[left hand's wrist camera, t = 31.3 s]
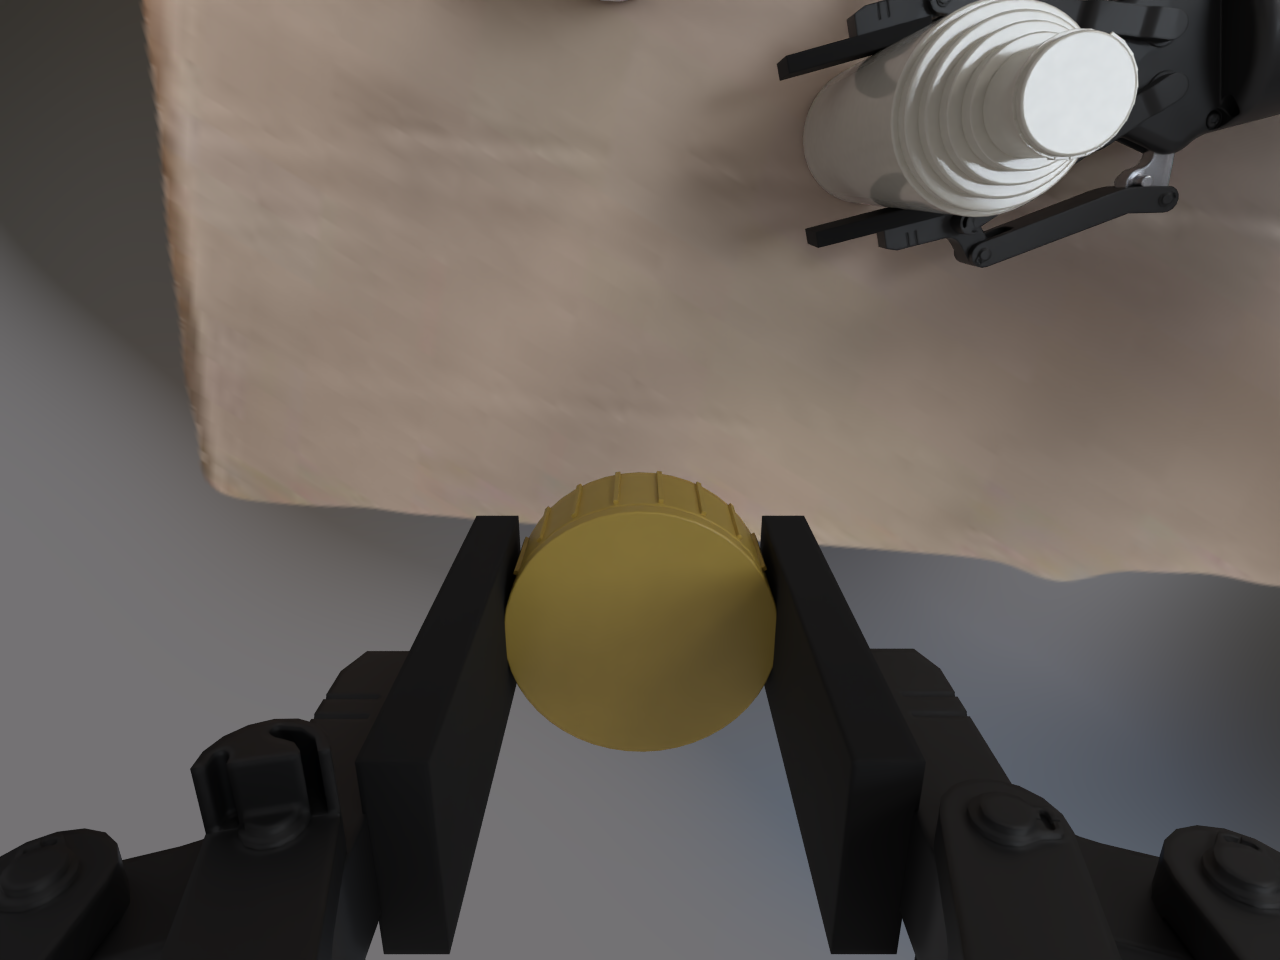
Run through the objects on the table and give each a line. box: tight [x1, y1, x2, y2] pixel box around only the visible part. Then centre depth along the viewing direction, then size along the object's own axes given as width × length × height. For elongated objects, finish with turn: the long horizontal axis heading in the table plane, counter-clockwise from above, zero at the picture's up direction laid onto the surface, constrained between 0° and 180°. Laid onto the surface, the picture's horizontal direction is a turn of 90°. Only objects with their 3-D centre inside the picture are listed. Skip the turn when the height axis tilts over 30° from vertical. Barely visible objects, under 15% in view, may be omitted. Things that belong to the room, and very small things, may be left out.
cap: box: [505, 471, 777, 752], centre depth 14 cm, size 5×5×2 cm
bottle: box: [803, 0, 1138, 217], centre depth 33 cm, size 7×7×23 cm
